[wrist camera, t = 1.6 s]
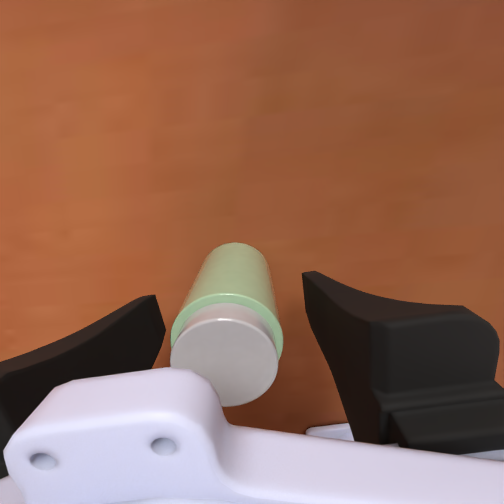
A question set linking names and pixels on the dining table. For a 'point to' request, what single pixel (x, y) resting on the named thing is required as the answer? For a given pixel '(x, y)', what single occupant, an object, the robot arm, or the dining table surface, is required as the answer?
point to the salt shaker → (230, 325)
